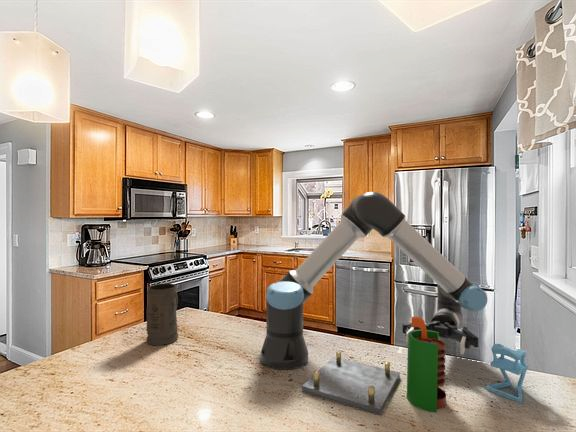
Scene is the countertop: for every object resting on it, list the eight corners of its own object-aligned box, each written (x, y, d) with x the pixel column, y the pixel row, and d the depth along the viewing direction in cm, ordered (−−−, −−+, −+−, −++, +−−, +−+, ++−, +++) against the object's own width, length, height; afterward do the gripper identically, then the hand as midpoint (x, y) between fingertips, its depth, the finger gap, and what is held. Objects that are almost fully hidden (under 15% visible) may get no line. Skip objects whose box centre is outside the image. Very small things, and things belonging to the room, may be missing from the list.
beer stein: (171, 346, 112) (172, 288, 113) (140, 346, 113) (141, 288, 113) (185, 331, 128) (186, 280, 128) (158, 331, 128) (159, 280, 128)
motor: (451, 414, 74) (451, 326, 75) (410, 409, 76) (410, 323, 76) (440, 391, 84) (440, 314, 85) (403, 387, 86) (404, 312, 86)
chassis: (301, 391, 84) (302, 374, 84) (333, 361, 102) (333, 347, 102) (380, 415, 73) (380, 395, 74) (399, 377, 92) (399, 361, 92)
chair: (532, 392, 84) (532, 346, 84) (520, 403, 79) (520, 353, 79) (498, 380, 90) (498, 337, 91) (486, 389, 85) (486, 344, 86)
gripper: (490, 343, 99) (487, 369, 81) (405, 327, 113) (387, 347, 95) (490, 318, 99) (487, 339, 81) (405, 305, 113) (387, 321, 95)
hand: (433, 343), depth 88 cm, fingers open, 13 cm apart
